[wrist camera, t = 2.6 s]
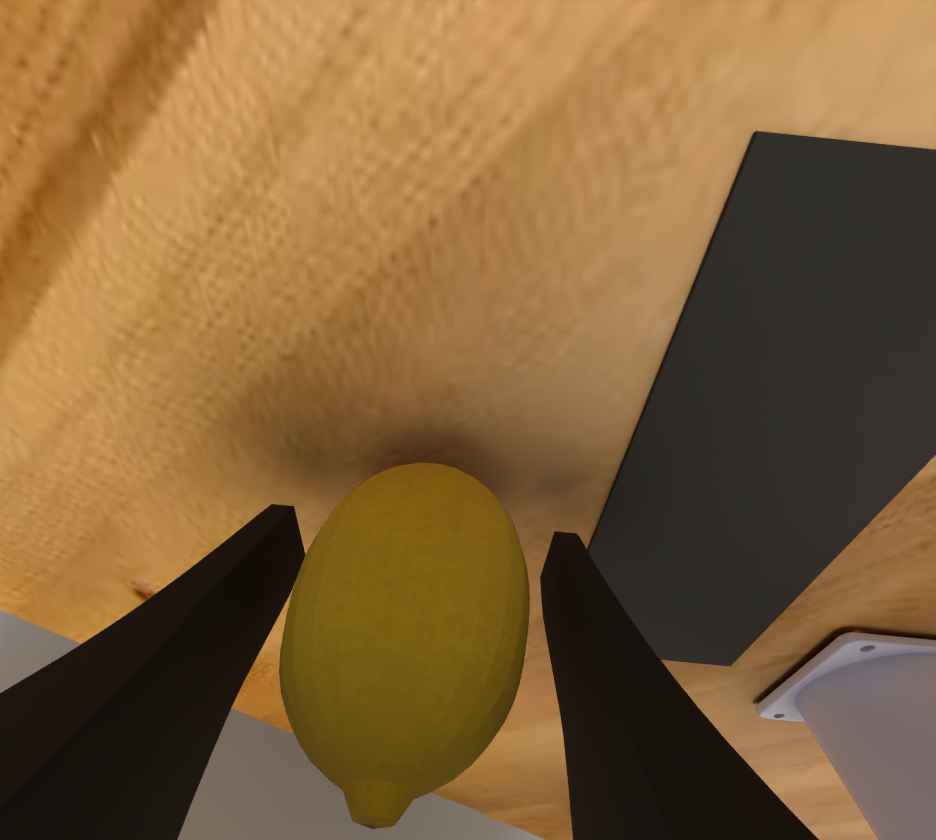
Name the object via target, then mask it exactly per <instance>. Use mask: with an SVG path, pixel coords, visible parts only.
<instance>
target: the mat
mask: <svg viewBox="0 0 936 840" xmlns="http://www.w3.org/2000/svg"><path fill="white" fill-rule="evenodd" d="M935 455H936V150H932V149H922V148H913V147H903V146H894V145H884V144H874V143H865V142H855V141H846V140H836V139H827V138H817V137H807V136H798V135H788V134H779V133H769V132H759V131H758V132H755V133H754V136H753V138H752V141H751V143H750V146H749V148H748V151H747V153H746V156H745V158H744V161H743V163H742V166H741V168H740V171H739V173H738V176H737V178H736V181H735V183H734V186H733V188H732V191H731V193H730V196H729V198H728V201H727V203H726V206H725V208H724V211H723V213H722V216H721V218H720V221H719V223H718V226H717V228H716V231H715V233H714V236H713V238H712V241H711V243H710V246H709V248H708V251H707V253H706V256H705V258H704V261H703V263H702V266H701V268H700V271H699V273H698V276H697V278H696V281H695V283H694V286H693V288H692V291H691V293H690V296H689V298H688V301H687V303H686V306H685V308H684V311H683V313H682V316H681V318H680V321H679V323H678V326H677V328H676V331H675V333H674V336H673V338H672V341H671V343H670V346H669V348H668V351H667V353H666V356H665V358H664V361H663V363H662V366H661V368H660V371H659V373H658V376H657V378H656V381H655V383H654V386H653V388H652V391H651V393H650V396H649V398H648V401H647V403H646V406H645V408H644V411H643V413H642V416H641V418H640V421H639V423H638V426H637V428H636V431H635V433H634V436H633V438H632V441H631V443H630V446H629V448H628V451H627V453H626V456H625V458H624V461H623V463H622V466H621V468H620V471H619V473H618V476H617V478H616V481H615V483H614V486H613V488H612V491H611V493H610V496H609V498H608V501H607V503H606V506H605V508H604V511H603V513H602V516H601V518H600V521H599V523H598V526H597V528H596V531H595V533H594V536H593V538H592V541H591V543H590V546H589V548H588V552H589V554H590V556H591V557H592V559H593V561H594V562H595V564H596V566H597V567H598V569H599V570H600V572H601V574H602V575H603V577H604V579H605V580H606V582H607V583H608V585H609V586H610V588H611V590H612V591H613V593H614V594H615V596H616V597H617V599H618V600H619V602H620V603H621V605H622V606H623V608H624V609H625V611H626V612H627V614H628V615H629V617H630V618H631V620H632V621H633V622H634V624H635V625H636V627H637V628H638V630H639V631H640V632H641V634H642V635H643V637H644V638H645V639H646V641H647V642H648V644H649V645H650V646H651V648H652V649H653V650H654V652H655V653H656V654H657V656H658V657H659V659H660V660H670V661H680V662H691V663H701V664H712V665H722V666H731V665H732V664H733V663H734V662H735V661H736V660H737V659H738V658H739V657H740V656H741V655H742V654H743V653H744V652H745V651H746V650H747V649H748V647H749V646H750V645H751V644H752V643H753V642H754V641H755V640H756V639H757V638H758V637H759V636H760V635H761V634H762V633H763V632H764V631H765V630H766V629H767V628H768V627H769V626H770V625H771V624H772V623H773V622H774V621H775V620H776V619H777V618H778V617H779V616H780V615H781V613H782V612H783V611H784V610H785V609H786V608H787V607H788V606H789V605H790V604H791V603H792V602H793V601H794V600H795V599H796V598H797V597H798V596H799V595H800V594H801V593H802V592H803V591H804V590H805V589H806V588H807V587H808V586H809V585H810V584H811V583H812V582H813V580H814V579H815V578H816V577H817V576H818V575H819V574H820V573H821V572H822V571H823V570H824V569H825V568H826V567H827V566H828V565H829V564H830V563H831V562H832V561H833V560H834V559H835V558H836V557H837V556H838V555H839V554H840V553H841V552H842V551H843V550H844V549H845V548H846V546H847V545H848V544H849V543H850V542H851V541H852V540H853V539H854V538H855V537H856V536H857V535H858V534H859V533H860V532H861V531H862V530H863V529H864V528H865V527H866V526H867V525H868V524H869V523H870V522H871V521H872V520H873V519H874V518H875V517H876V516H877V515H878V513H879V512H880V511H881V510H882V509H883V508H884V507H885V506H886V505H887V504H888V503H889V502H890V501H891V500H892V499H893V498H894V497H895V496H896V495H897V494H898V493H899V492H900V491H901V490H902V489H903V488H904V487H905V486H906V485H907V484H908V483H909V482H910V481H911V479H912V478H913V477H914V476H915V475H916V474H917V473H918V472H919V471H920V470H921V469H922V468H923V467H924V466H925V465H926V464H927V463H928V462H929V461H930V460H931V459H932V458H933V457H934V456H935Z"/></svg>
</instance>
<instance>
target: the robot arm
mask: <svg viewBox="0 0 936 840" xmlns="http://www.w3.org/2000/svg"><path fill="white" fill-rule="evenodd" d="M304 557H305V552H304V547H303V543H302V539H301V535H300V530H299V526H298V522H297V517H296V513H295V509H294V506H286V505H275V504H271V505H270V506H269V507H268V508H266V509H265V510H264V511H262V512H261V513H260V514H259V515H257V516H256V517H255V518H254V519H252V520H251V521H250V522H249V523H247V524H246V525H245V526H244V527H242V528H241V529H240V530H239V531H237V532H236V533H235V534H234V535H232V536H231V537H230V538H229V539H227V540H226V541H225V542H224V543H222V544H221V545H220V546H219V547H217V548H216V549H215V550H213V551H212V552H211V553H210V554H208V555H207V556H206V557H204V558H203V559H202V560H201V561H199V562H198V563H197V564H195V565H194V566H193V567H192V568H190V569H189V570H188V571H186V572H185V573H184V574H182V575H181V576H180V577H178V578H177V579H176V580H174V581H173V582H171V583H170V584H169V585H167V586H166V587H165V588H163V589H162V590H160V591H159V592H158V593H156V594H155V595H154V596H152V597H151V598H149V599H148V600H147V601H145V602H144V603H143V604H141V605H140V606H138V607H137V608H135V609H134V610H133V611H131V612H130V613H128V614H127V615H125V616H124V617H122V618H121V619H119V620H118V621H116V622H115V623H113V624H112V625H110V626H109V627H107V628H106V629H104V630H103V631H101V632H100V633H98V634H97V635H95V636H93V637H92V638H90V639H89V640H87V641H86V642H84V643H83V644H81V645H80V646H78V647H76V648H75V649H73V650H72V651H70V652H68V653H67V654H65V655H64V656H62V657H60V658H59V659H57V660H55V661H54V662H52V663H51V664H49V665H47V666H46V667H44V668H42V669H40V670H39V671H37V672H35V673H34V674H32V675H30V676H29V677H27V678H25V679H24V680H22V681H20V682H18V683H17V684H16V685H13V686H12V687H10V688H8V689H7V690H5V691H3V692H2V693H0V840H177V839H178V836H179V834H180V831H181V828H182V826H183V823H184V821H185V818H186V815H187V813H188V810H189V808H190V805H191V803H192V800H193V798H194V795H195V793H196V790H197V788H198V786H199V783H200V781H201V778H202V776H203V773H204V771H205V768H206V766H207V764H208V761H209V759H210V756H211V754H212V751H213V749H214V747H215V744H216V742H217V740H218V737H219V735H220V733H221V730H222V728H223V726H224V723H225V721H226V719H227V717H228V714H229V712H230V710H231V707H232V705H233V703H234V701H235V699H236V697H237V695H238V692H239V690H240V688H241V686H242V684H243V682H244V680H245V678H246V677H247V675H248V673H249V671H250V669H251V667H252V665H253V663H254V661H255V660H256V658H257V656H258V654H259V652H260V650H261V648H262V646H263V644H264V643H265V641H266V639H267V637H268V635H269V633H270V631H271V629H272V628H273V626H274V624H275V622H276V620H277V618H278V616H279V614H280V612H281V610H282V608H283V607H284V605H285V603H286V601H287V599H288V597H289V595H290V593H291V591H292V588H293V586H294V583H295V581H296V578H297V576H298V573H299V570H300V567H301V565H302V562H303V560H304ZM540 582H541V598H542V610H543V619H544V625H545V631H546V637H547V642H548V648H549V653H550V659H551V664H552V670H553V675H554V681H555V687H556V692H557V698H558V703H559V709H560V715H561V722H562V729H563V736H564V746H565V756H566V766H567V776H568V786H569V797H570V809H571V820H572V831H573V840H819V839H818V838H817V837H816V836H815V835H814V834H813V833H812V832H811V831H810V830H809V829H808V828H807V827H806V826H805V825H804V824H803V823H802V822H801V821H800V820H799V819H798V818H797V817H796V816H795V815H794V814H793V813H792V812H791V811H790V810H789V808H788V807H787V806H786V805H785V804H784V803H783V802H782V801H781V800H780V799H779V798H778V797H777V796H776V794H775V793H774V792H773V791H772V790H771V789H770V788H769V787H768V786H767V785H766V784H765V782H764V781H763V780H762V779H761V778H760V777H759V776H758V775H757V774H756V773H755V771H754V770H753V769H752V768H751V767H750V766H749V765H748V764H747V763H746V762H745V761H744V759H743V758H742V757H741V756H740V755H739V754H738V753H737V752H736V751H735V750H734V748H733V747H732V746H731V745H730V744H729V743H728V742H727V741H726V740H725V738H724V737H723V736H722V735H721V734H720V733H719V731H718V730H717V729H716V728H715V727H714V725H713V724H712V723H711V722H710V721H709V720H708V718H707V717H706V716H705V715H704V714H703V713H702V711H701V710H700V709H699V708H698V707H697V705H696V704H695V703H694V702H693V700H692V699H691V698H690V697H689V696H688V694H687V693H686V692H685V691H684V689H683V688H682V687H681V686H680V684H679V683H678V682H677V681H676V679H675V678H674V677H673V676H672V674H671V673H670V672H669V670H668V669H667V668H666V666H665V665H664V664H663V662H662V661H661V660H660V659H659V657H658V656H657V654H656V653H655V652H654V650H653V649H652V648H651V646H650V645H649V644H648V642H647V641H646V639H645V638H644V637H643V635H642V634H641V632H640V631H639V630H638V628H637V627H636V625H635V624H634V622H633V621H632V620H631V618H630V617H629V615H628V614H627V612H626V611H625V609H624V608H623V606H622V605H621V603H620V602H619V600H618V599H617V597H616V596H615V594H614V593H613V591H612V590H611V588H610V586H609V585H608V583H607V582H606V580H605V579H604V577H603V575H602V574H601V572H600V570H599V569H598V567H597V566H596V564H595V562H594V561H593V559H592V557H591V556H590V554H589V552H588V551H587V549H586V547H585V546H584V544H583V542H582V540H581V539H580V537H579V536H578V535H577V534H576V533H565V532H554V535H553V538H552V541H551V545H550V548H549V551H548V554H547V557H546V561H545V564H544V567H543V570H542V573H541V577H540ZM755 709H756V711H757V713H758V715H759V716H760V717H762V718H765V719H775V720H786V721H796V722H806V723H807V725H808V727H809V728H810V730H811V732H812V733H813V735H814V736H815V738H816V740H817V741H818V743H819V745H820V746H821V748H822V749H823V751H824V753H825V754H826V756H827V757H828V759H829V761H830V762H831V764H832V766H833V767H834V769H835V770H836V772H837V774H838V775H839V777H840V779H841V780H842V782H843V783H844V785H845V787H846V788H847V790H848V792H849V793H850V795H851V796H852V798H853V800H854V801H855V803H856V805H857V806H858V808H859V809H860V811H861V813H862V814H863V816H864V817H865V819H866V821H867V822H868V824H869V826H870V827H871V829H872V830H873V832H874V834H875V835H876V837H877V839H878V840H936V640H929V639H919V638H909V637H898V636H888V635H878V634H867V633H857V632H849V633H845V634H842V635H840V636H838V637H837V638H836V639H835V640H834V641H832V642H831V643H830V644H829V645H828V646H826V647H825V648H824V649H823V650H822V651H820V652H819V653H818V654H817V655H816V656H815V657H813V658H812V659H811V660H810V661H809V662H807V663H806V664H805V665H804V666H803V667H801V668H800V669H799V670H798V671H797V672H795V673H794V674H793V675H792V676H791V677H790V678H788V679H787V680H786V681H785V682H784V683H782V684H781V685H780V686H779V687H778V688H776V689H775V690H774V691H773V692H772V693H771V694H769V695H768V696H767V697H766V698H765V699H763V700H762V701H761V702H760V703H759V704H757V705H756V707H755Z"/></svg>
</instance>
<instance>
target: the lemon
mask: <svg viewBox="0 0 936 840" xmlns="http://www.w3.org/2000/svg"><path fill="white" fill-rule="evenodd" d="M529 603H530V596H529V581H528V573H527V567H526V563H525V559H524V555H523V551H522V548H521V545H520V541H519V538H518V535H517V532H516V529H515V526H514V524H513V522H512V520H511V518H510V516H509V515H508V513H507V512H506V510H505V509H504V507H503V506H502V504H501V503H500V501H499V500H498V499H497V497H496V496H495V495H494V494H493V493H492V492H491V491H490V490H489V489H488V488H487V487H486V486H484V485H483V484H482V483H481V482H480V481H478V480H477V479H476V478H474V477H472V476H470V475H468V474H466V473H464V472H462V471H460V470H458V469H456V468H453V467H449V466H446V465H442V464H438V463H422V462H420V463H413V464H406V465H399V466H396V467H393V468H390V469H388V470H385V471H382V472H380V473H378V474H376V475H373V476H372V477H370V478H369V479H368V480H366V481H365V482H364V483H362V484H361V485H359V486H358V487H357V488H355V489H354V490H353V491H351V492H350V493H349V494H348V495H347V496H346V497H345V498H344V499H343V500H342V501H341V502H340V503H339V504H338V505H337V507H336V508H335V509H334V510H333V512H332V513H331V515H330V516H329V518H328V519H327V521H326V522H325V523H324V525H323V526H322V528H321V529H320V531H319V532H318V534H317V535H316V537H315V538H314V540H313V542H312V544H311V546H310V547H309V549H308V551H307V554H306V556H305V558H304V560H303V562H302V565H301V567H300V570H299V573H298V576H297V578H296V582H295V585H294V588H293V592H292V595H291V599H290V604H289V608H288V612H287V617H286V622H285V627H284V633H283V639H282V645H281V652H280V668H279V674H280V686H281V694H282V698H283V702H284V706H285V709H286V713H287V716H288V719H289V722H290V724H291V727H292V729H293V731H294V733H295V736H296V738H297V740H298V743H299V744H300V746H301V748H302V749H303V750H304V752H305V754H306V755H307V756H308V758H309V760H310V761H311V762H312V763H313V764H314V765H315V766H316V767H317V768H318V769H319V770H320V771H321V772H322V773H323V774H324V775H325V776H326V777H327V778H328V779H329V780H330V781H331V782H332V783H334V784H335V785H336V786H338V787H339V788H340V789H342V790H343V792H344V795H345V799H346V802H347V805H348V808H349V812H350V815H351V818H352V821H354V822H355V823H358V824H360V825H363V826H366V827H369V828H372V829H375V828H383V827H391V826H394V825H395V824H396V823H397V821H398V820H399V819H400V817H401V816H402V815H403V813H404V812H405V811H406V809H407V808H408V806H409V805H410V804H411V802H412V801H413V800H414V799H415V798H418V797H420V796H423V795H425V794H428V793H430V792H432V791H434V790H436V789H438V788H439V787H441V786H443V785H445V784H447V783H448V782H450V781H452V780H454V779H455V778H456V777H457V776H459V775H460V774H461V773H462V772H464V771H465V770H466V769H467V768H468V767H470V766H471V765H472V764H473V763H474V762H475V760H476V759H477V758H478V757H479V756H480V755H481V754H482V753H483V752H484V750H485V749H486V748H487V747H488V745H489V744H490V743H491V741H492V740H493V738H494V737H495V735H496V734H497V732H498V731H499V730H500V728H501V727H502V725H503V724H504V722H505V720H506V718H507V716H508V714H509V711H510V709H511V707H512V705H513V703H514V700H515V696H516V693H517V690H518V687H519V683H520V679H521V674H522V669H523V664H524V656H525V649H526V642H527V633H528V623H529Z"/></svg>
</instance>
